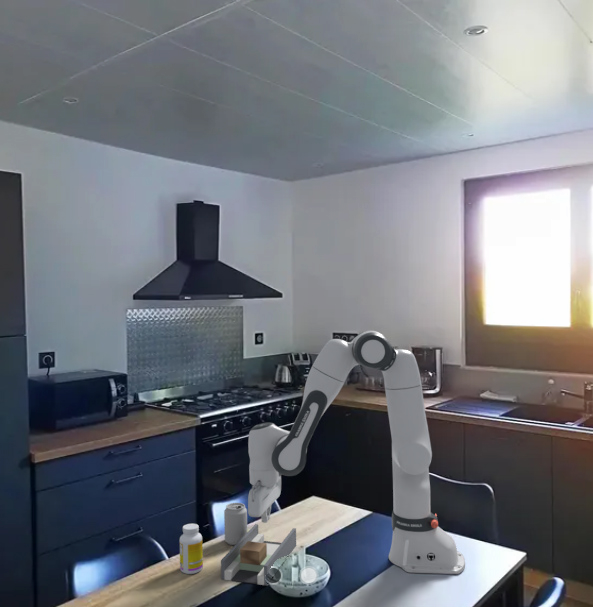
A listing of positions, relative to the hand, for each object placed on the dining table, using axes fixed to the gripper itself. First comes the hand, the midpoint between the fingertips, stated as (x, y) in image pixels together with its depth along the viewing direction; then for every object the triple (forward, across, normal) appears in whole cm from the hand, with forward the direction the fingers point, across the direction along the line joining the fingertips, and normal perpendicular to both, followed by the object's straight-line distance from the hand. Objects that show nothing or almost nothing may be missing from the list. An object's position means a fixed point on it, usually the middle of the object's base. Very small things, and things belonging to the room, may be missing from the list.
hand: (265, 520), depth 182 cm
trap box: (+11, -3, +1) cm, 12 cm away
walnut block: (+9, -8, +1) cm, 12 cm away
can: (+11, +8, +14) cm, 20 cm away
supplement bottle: (+11, -14, +19) cm, 26 cm away
